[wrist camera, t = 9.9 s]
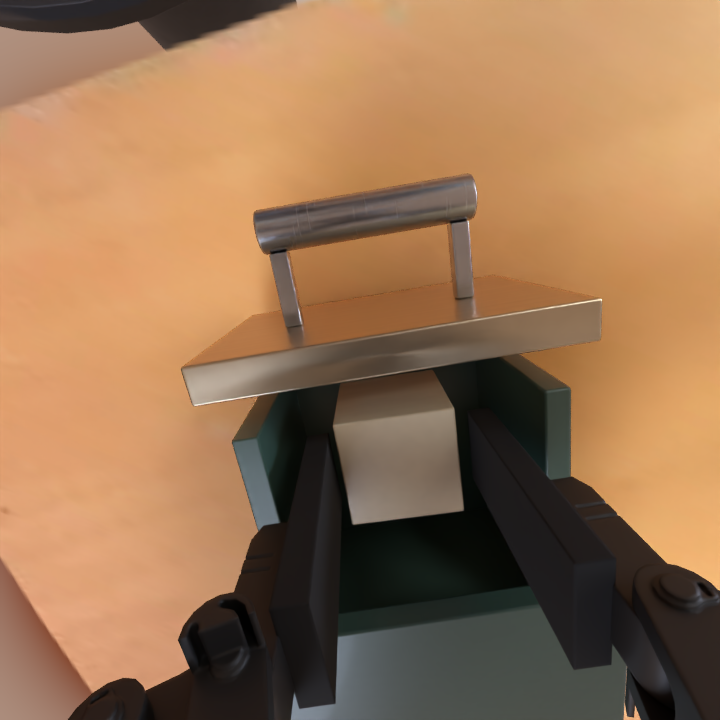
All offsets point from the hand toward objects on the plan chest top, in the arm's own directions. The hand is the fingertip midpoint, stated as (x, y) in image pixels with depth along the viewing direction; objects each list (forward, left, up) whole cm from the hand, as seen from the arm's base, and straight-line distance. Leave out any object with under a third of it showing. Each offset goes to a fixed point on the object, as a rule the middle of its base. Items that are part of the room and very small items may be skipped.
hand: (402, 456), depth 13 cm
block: (0, 0, -3) cm, 3 cm away
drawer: (-1, 0, -6) cm, 6 cm away
